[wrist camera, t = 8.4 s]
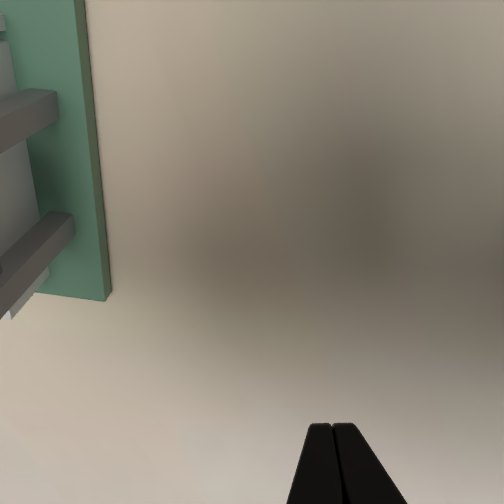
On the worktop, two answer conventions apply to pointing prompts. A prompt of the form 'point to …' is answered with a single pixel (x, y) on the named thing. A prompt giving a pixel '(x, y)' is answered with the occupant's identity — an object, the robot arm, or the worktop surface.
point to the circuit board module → (48, 157)
